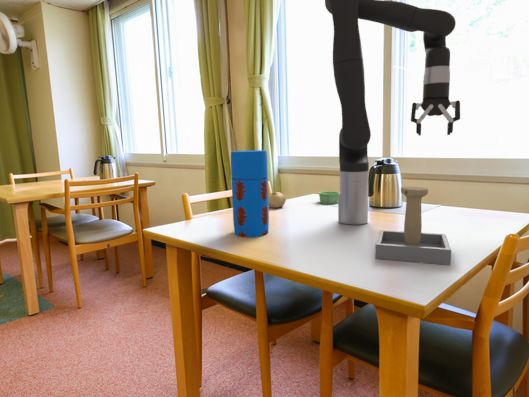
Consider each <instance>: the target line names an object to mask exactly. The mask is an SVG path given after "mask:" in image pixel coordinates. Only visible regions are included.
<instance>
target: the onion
mask: <svg viewBox="0 0 529 397" xmlns="http://www.w3.org/2000/svg"><path fill="white" fill-rule="evenodd" d="M286 201H287V200H286V196H285V195H284V194H283V193H282V192H279V191H272V192H271V193H270V194H269V193H268V208H273V209H275V208H282V207H284V205H285V203H286Z"/></svg>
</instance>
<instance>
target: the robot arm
mask: <svg viewBox="0 0 529 397" xmlns="http://www.w3.org/2000/svg"><path fill="white" fill-rule="evenodd" d="M324 6H325V8H326V10H327V12H328V13H329V14H331V16H332V22H333V24H332V25H333V39H332V40H333V42H332V44H333V45H332V68H333V77H334V78H333V79H334V84H335V87H336V90H337V95H338V99H339V103H340V105H341V106H340V107H341V129H340V131H339V134H338V136H339V137H338V140H339V141H338V158H339V160H338V161H339V193H340V194H339V195H338V203H337V204H338V205H337V206H338V208H337V210H338V211H337V212H338V213H337V214H338V216H337V217H338V218H337V219H338V220H337V221H338V222H337V223H341V224H345V225H365V224H367V223H368V221H369V220H368V218H369V174H370V173H369V171H370V170H369V169H370V165H369V159H368V158H369V157H368V144H369V143H370V141H371V137H372V135H371V134H372V133H371V132H372V131H371V128H370V124H369V118H368V117H369V116H368V114H367V107H366V86H365V85H366V84H365V83H366V79H365V66H364V55H363V49H362V40H361V34H360V28H359V20H364V21H369V22H373V23H378V24H380V25H381V24H382V25H386V26H389V27H392V28H395V29H398V30H400V31H401V30H402V31H405V32H408V33H410V32H411V33H414V32H422V33H423V34H422V36H423V38H422V40H423V45H424V52H425V60H424V61H425V64H424V72H423V73H424V74H423V80H422V82H423V86H422V102H420V103H419V102H418V103H417V102H412V105H411V113H410V114H411V115H410V121H411V122H412V123H415V124H416V127H415V128H416V130H415V131H416V132H415V133H416V135H417V134H418V135H417V136H421V135H422V121H423V120H424V119H425V118H426V116H428V117H433V116H436V117H440V116H443V117H445V119H446V120H447V121H448V123H447V130H446V134H447V136H450V135H451V134H452V133H453V130H454V122H458V121H459V120H460V119H461V101H460V100H456V101H450V80H451V71H450V69H451V68H450V65H451V63H450V62H451V50H450V48H449V47H447V43H446V42H447V40H446V38H447V36H449V35H451V33H452V32H453V31H454V30H455V27H456V25H457V24H456V19H455V17H454V16H453V15H452V14H451V13H449V12H447V11H445V10H441V9H435V8H434V9H433V8H422V7H418V6H415V5H412V4H409V3H406V2H402V1H397V0H396V1H395V0H324ZM450 106H451V107H452V109H454V117H452V116H451V115H450V113H449V112H448V111H447V110H448V109H449V107H450ZM420 107H421V109H422V110H423V111H424V112H423V113H422V114H421V116H419V117H418V118H416V113H417V112H416V111H417V110H419V109H420Z"/></svg>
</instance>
